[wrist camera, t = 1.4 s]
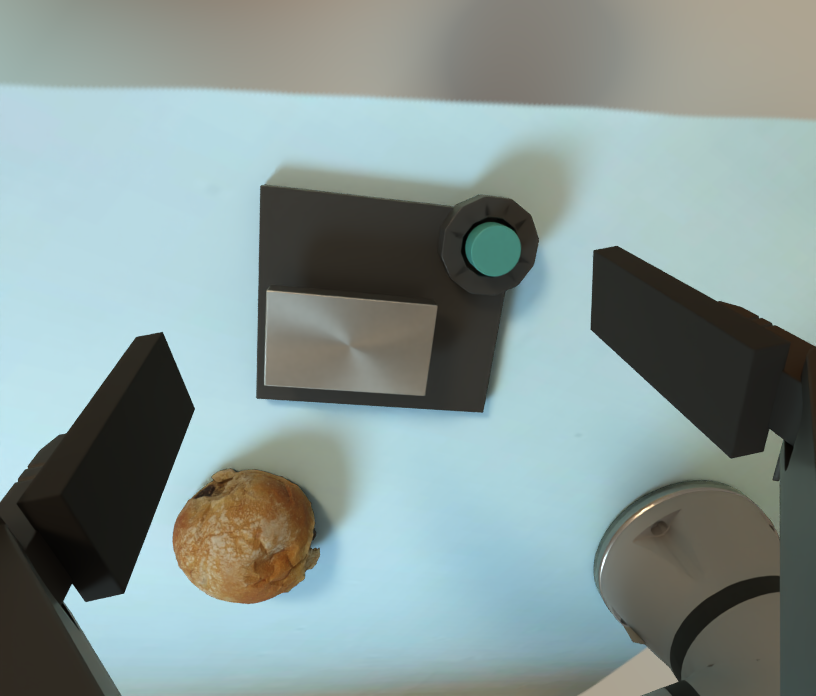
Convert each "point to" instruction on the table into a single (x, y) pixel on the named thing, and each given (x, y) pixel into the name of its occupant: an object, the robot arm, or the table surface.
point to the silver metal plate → (348, 340)
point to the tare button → (493, 248)
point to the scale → (394, 278)
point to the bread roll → (246, 536)
